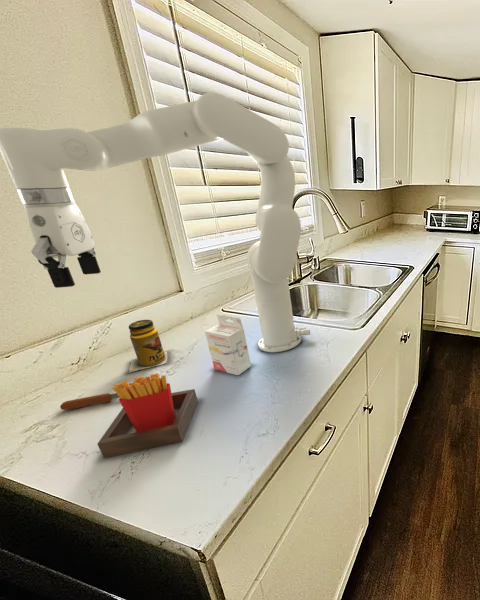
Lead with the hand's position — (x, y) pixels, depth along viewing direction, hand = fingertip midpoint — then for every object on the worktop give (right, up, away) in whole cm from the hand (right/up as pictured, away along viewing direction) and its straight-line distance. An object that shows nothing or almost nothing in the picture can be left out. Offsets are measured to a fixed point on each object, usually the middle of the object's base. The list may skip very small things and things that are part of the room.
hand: (79, 279), depth 71 cm
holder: (+19, -31, -3) cm, 37 cm away
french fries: (+19, -31, -3) cm, 37 cm away
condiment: (0, -22, +20) cm, 30 cm away
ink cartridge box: (+25, -23, +17) cm, 38 cm away
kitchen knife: (+2, -28, +4) cm, 29 cm away
